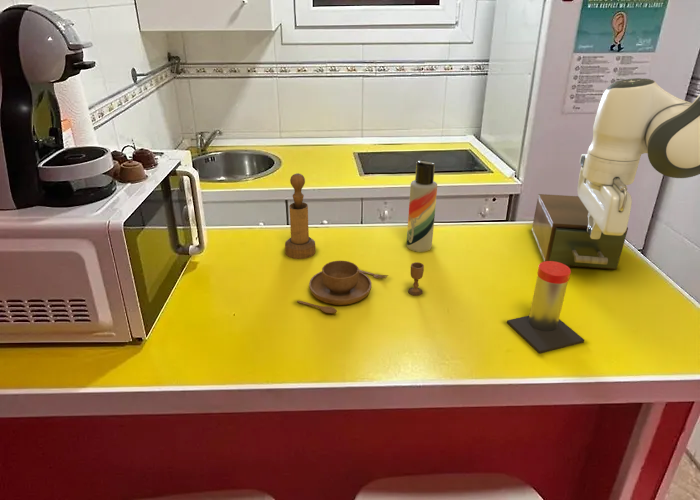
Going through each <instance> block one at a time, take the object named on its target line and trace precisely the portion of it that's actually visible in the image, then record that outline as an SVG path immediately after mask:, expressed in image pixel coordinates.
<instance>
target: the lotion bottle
mask: <svg viewBox="0 0 700 500" xmlns="http://www.w3.org/2000/svg"><path fill="white" fill-rule="evenodd" d="M415 165H416V166H415V177H414V180H412V181H411V182H410V186H409V200H408V201H409V203H408V215H407V231H406V247H407V249H408V250H410V251H413V252H417V253H424V252H425V253H426V252H428V251H430V250H431V249H432V246H433V240H434V239H433V238H434V228H435V215H436V207H437V206H436V205H437V195H438V183H437V182H436V181H435V180H434V179H435V169H436V168H435V166H436V163H435V162H432V161H428V160H423V159H419V160H417V161H416V164H415Z"/></svg>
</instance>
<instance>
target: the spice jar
mask: <svg viewBox="0 0 700 500" xmlns="http://www.w3.org/2000/svg"><path fill="white" fill-rule="evenodd" d="M571 273H572V270H571V268H570V266H566V265H565V264H562V263H559V262H555V261H545V262H543V261H542V262H540V263H539V264H538V267H537V273H536V274H537V275H536V280H535V286H534V290H533V295H532V301H531V305H530V310H529V314H528V316H529V319H528V321H529V324H530V325H531V326H532V327H534V328H536V329H538V330H542V331H553V330H555V329H556V328H557V325H558V321H559V319H560V318H561V317H560V316H561V312H562V308H563V304H564V300H565V295H566V291H567V287H568V284H569V283H568V282H569V281H570V278H571Z"/></svg>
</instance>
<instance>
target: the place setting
mask: <svg viewBox="0 0 700 500" xmlns="http://www.w3.org/2000/svg"><path fill="white" fill-rule="evenodd" d="M424 269H425V265H424V263H423V262H422V263H421V262H411V264H410V277H411V278H412V279H413V284H412V286H413V287H410V288H408V289H407V293H408V294H409V295H410V296H414V297H419V296H421V295H423V293H424V291H423V289H421V288H420V287H419V280H421V279H422V278H423V276H424V271H425V270H424ZM368 275H371V276H373V278H375V279H381V278H388V276H389V275H388V274H375V273H373V272H369V271H365V270H361V269H359V266H358V265H357V264H356V263H354V262H351V261H349V260H333V261H329V262H328V263H326V264H324V265H323V266H322V268H321V271H319V272H316V273H315V274H314V275H312V277H311V278H310V280H309V283H308V285H309V291H310V292H311V294H312V295H313V297H315V299H317V300H319V301H321V302H323V303H326V304H329V305H335V306H346V305H352V304H355V303H358V302H360V301H362V300H364V299H365V298H366V297H367V296H368V295H369V294H370V292H371V289H372V280H371V278H370V277H369V276H368ZM296 303H299V304H301V305H306V306H311V307H314V308H318V309H319V310H320V311H322V312H323V313H326V314H335V313H337V312H338V310H337V308H335V307H333V306H327V305H326V306H324V305H323V306H322V305H318V304H314V303H312V302H307V301H302V300H297V301H296Z"/></svg>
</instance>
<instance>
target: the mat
mask: <svg viewBox="0 0 700 500" xmlns="http://www.w3.org/2000/svg"><path fill="white" fill-rule="evenodd" d="M528 319H529V315H525V316H521V317H516V318H512V319H507V320H506V324H507V325H508V326H509V327H510V328H511V329H512V330H513V331H514V332H515V333H516V334H517V335H519V337H521V338H522V339H523V340H524V341H525V342H526V343H527V344H528V345H529V346H530V347H531V348H532V349H533V350H534V351H535V352H537V353H538V354H539V355H540V354H545V353H548V352H553V351H556V350H559V349H564V348H568V347H573V346H577V345H580V344H584V343H585V339H584V337H582V336H580V335H579V334H578V332H575V330H573V329H572V328H571V327H569V326H568V325H567V324H566V323H564V322H563V321H562V320H561V319H560V318H559V321H558V325H557V328H556V329H555V330H553V331H542V330H538V329H536V328H534V327H532V326H531V325H530V324H529V321H528Z"/></svg>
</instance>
